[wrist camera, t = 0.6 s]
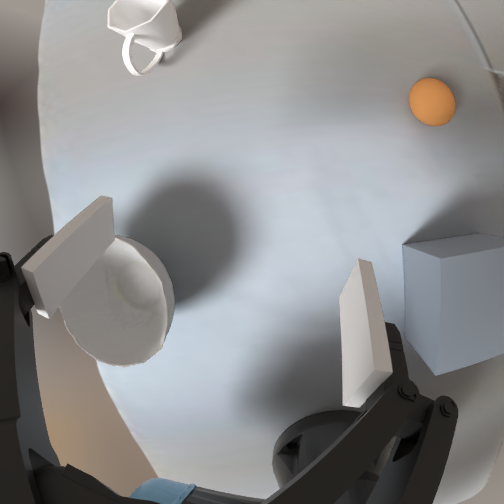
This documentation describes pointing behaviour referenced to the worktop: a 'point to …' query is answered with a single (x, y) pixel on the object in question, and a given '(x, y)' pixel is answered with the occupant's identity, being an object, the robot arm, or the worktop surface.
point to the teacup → (121, 305)
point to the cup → (145, 28)
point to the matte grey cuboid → (455, 300)
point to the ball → (432, 102)
